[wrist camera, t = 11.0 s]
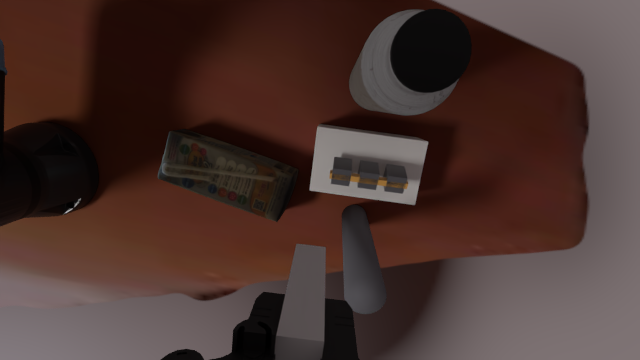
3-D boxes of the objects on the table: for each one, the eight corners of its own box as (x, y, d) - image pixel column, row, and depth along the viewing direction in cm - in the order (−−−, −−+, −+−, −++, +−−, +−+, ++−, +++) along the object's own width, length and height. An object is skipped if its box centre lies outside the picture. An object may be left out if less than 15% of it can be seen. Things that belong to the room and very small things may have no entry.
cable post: (340, 226, 52) (341, 310, 31) (343, 203, 51) (347, 273, 30) (364, 229, 52) (382, 316, 31) (368, 206, 51) (389, 279, 30)
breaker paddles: (329, 171, 43) (328, 183, 41) (332, 156, 42) (330, 167, 40) (402, 181, 43) (405, 194, 41) (406, 166, 42) (409, 178, 39)
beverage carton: (187, 125, 50) (165, 128, 43) (302, 167, 50) (297, 176, 44) (175, 171, 51) (152, 181, 45) (286, 211, 52) (279, 226, 46)
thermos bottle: (405, 106, 47) (501, 108, 20) (352, 114, 48) (374, 126, 21) (400, 50, 45) (498, -32, 18) (345, 59, 46) (360, -7, 19)
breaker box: (312, 180, 50) (309, 190, 45) (319, 123, 48) (317, 126, 42) (405, 193, 50) (414, 205, 44) (417, 137, 48) (428, 141, 42)
